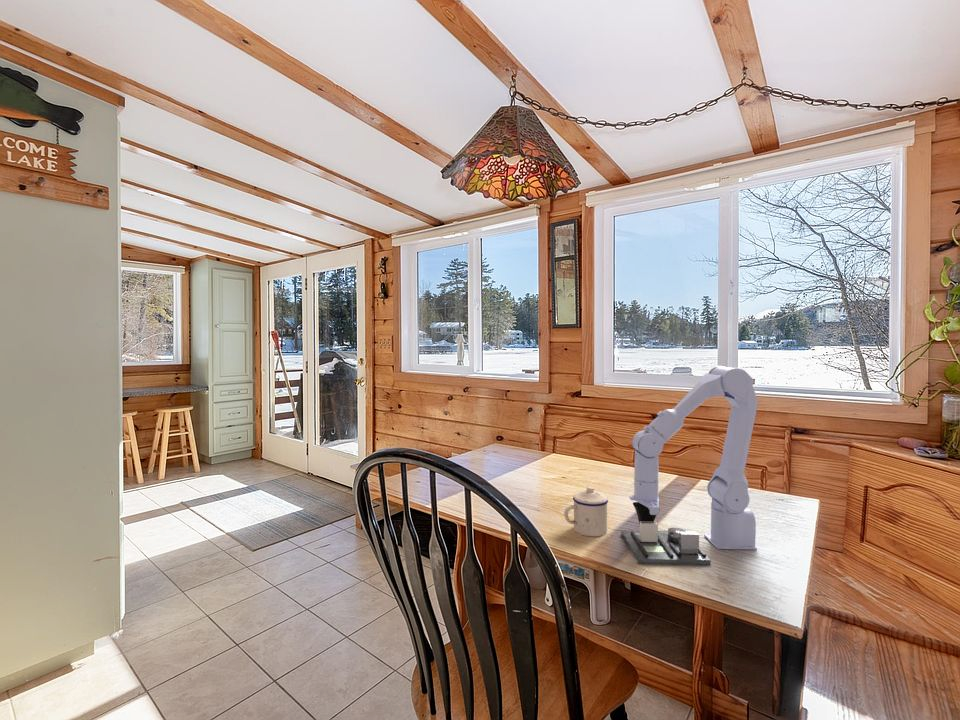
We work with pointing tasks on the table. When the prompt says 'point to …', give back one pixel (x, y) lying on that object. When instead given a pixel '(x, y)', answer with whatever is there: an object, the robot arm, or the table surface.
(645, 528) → the fader
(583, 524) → the teacup with lid
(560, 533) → the table surface
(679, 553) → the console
